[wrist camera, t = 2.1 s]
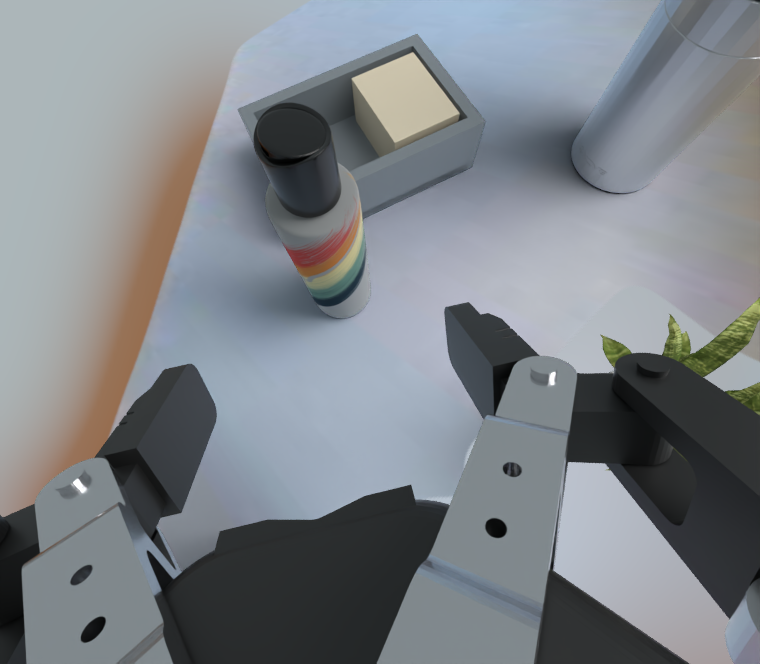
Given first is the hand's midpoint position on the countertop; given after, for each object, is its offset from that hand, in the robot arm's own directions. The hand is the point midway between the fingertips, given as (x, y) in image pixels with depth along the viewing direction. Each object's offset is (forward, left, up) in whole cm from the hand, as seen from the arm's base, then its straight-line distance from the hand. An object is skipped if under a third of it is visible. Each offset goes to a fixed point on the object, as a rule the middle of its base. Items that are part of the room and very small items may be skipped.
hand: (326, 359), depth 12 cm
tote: (-12, -24, -22) cm, 35 cm away
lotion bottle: (-3, -11, -22) cm, 25 cm away
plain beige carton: (-17, -24, -21) cm, 36 cm away
